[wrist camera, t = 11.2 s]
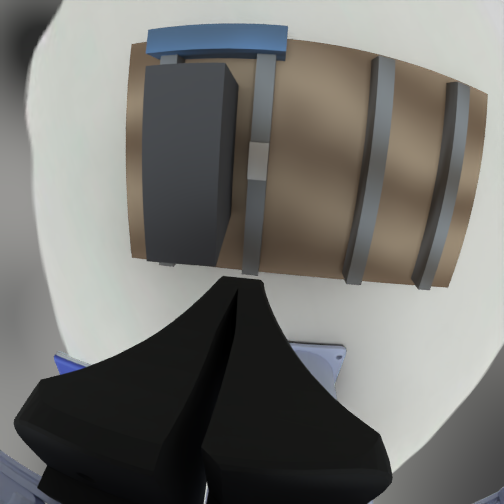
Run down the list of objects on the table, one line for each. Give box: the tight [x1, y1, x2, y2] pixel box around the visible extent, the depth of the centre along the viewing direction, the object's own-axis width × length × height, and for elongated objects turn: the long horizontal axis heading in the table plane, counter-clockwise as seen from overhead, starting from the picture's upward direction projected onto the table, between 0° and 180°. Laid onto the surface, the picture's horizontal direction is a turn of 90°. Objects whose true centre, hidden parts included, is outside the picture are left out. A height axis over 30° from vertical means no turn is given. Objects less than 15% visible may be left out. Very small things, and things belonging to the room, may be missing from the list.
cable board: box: [126, 24, 488, 290], centre depth 16 cm, size 15×24×3 cm, turn 86°
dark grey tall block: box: [142, 63, 239, 267], centre depth 14 cm, size 8×3×7 cm, turn 176°
